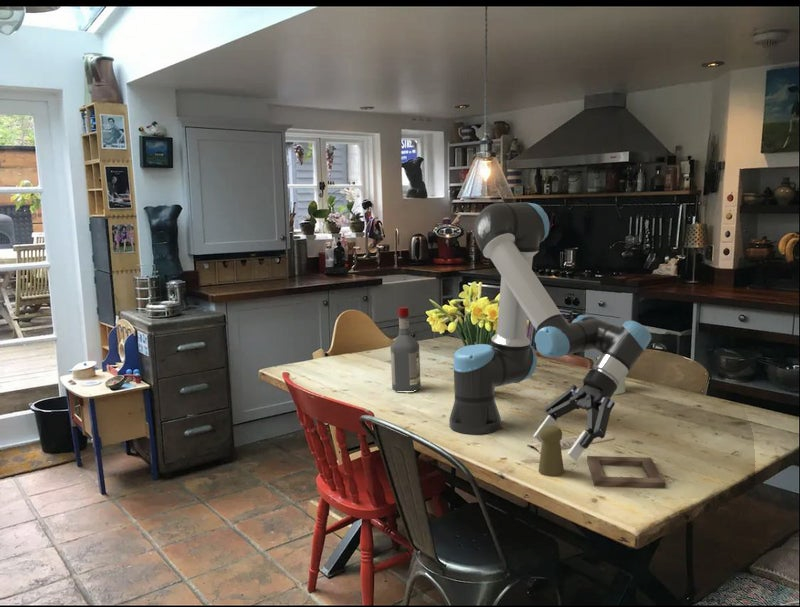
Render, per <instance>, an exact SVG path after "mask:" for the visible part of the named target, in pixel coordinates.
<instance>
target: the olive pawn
mask: <svg viewBox="0 0 800 607" xmlns="http://www.w3.org/2000/svg"><path fill="white" fill-rule="evenodd" d="M540 438H541V439H542V447H541V454H540V457H539V464H538V473H539V474H541V475H542V476H545V477H559V476H562V475H564V474H565V468H564V467H565V466H564V461H563V455H562V454H563V453H562V450H561V446H560V440H561V439H562V438H563V431H562V429H561V428H560V427H558V426H556V425H554V426H550V425H549V426H544V427H542V428H541V430H540Z"/></svg>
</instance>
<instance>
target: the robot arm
mask: <svg viewBox="0 0 800 607" xmlns="http://www.w3.org/2000/svg"><path fill="white" fill-rule="evenodd" d="M549 231H550V221H549V217H548V214H547V213H546V212H545V211H544V209H543V207H541V205H539V204H536V203H531V202H526V201H525V202H507V203H501V202H500V203H499V202H497V203H493V204H490V205H487V206H485V207H484V208H483V209H482V210H481V211H480V212H479V214H478V215H477V217H476V219H475V223H474V232H473V233H474V238H475V242H476V244H477V246H478V248H479V251H480V252H481V253H482V255H483V256H484V258H487V259H490V260H491V263H492V264H493V265H494V267H495V268H496V270H497V271H498V273H499V274H500V288H499V289H500V290H499V301H498V302H499V304H498V312H497V314H498V315H497V326H496V327H497V328H496V333H495V334H494V335H493V336H492V337H491V341H490V344H485V343H478V344H469V345H466V346H463V347H460V348H459V349H457V350H456V351H455V353H454V355H453V363H452V364H453V365H452V368H453V383H454V384H453V385H454V389H453V390H454V402H453V405H452V409H451V411H450V416H449V423H448V424H449V428H450V429H451V430H453V431H455V432H457V433H461V434H462V433H463V434H466V435H468V434H469V435H470V434H471V435H481V434H482V435H483V434H489V433H492V432H493V433H494V432H496V431H498V430H500V429H501V427H502V416H501V414H500V412H499V409H498V406H497V402H496V398H495V395H496V394H495V388H499V387H502V386H506V385H511V384H517V383H521V382H522V381H526V380H528V379H529V378H531V377H532V375H533V374H534V372H535V371H536V369H537V364H538V356H537V353H535V348H536V351H538V353H539V354H540V355H541V356H543V357H544V358H549V359H551V358H560V357H564V356H566V355H571V354H575V353H581V352H586V351H591V350H595V351H598V352H599V353H601V354H600V355H599V356H600V357H599V356H598V357H599V358H598V359H597V360H596V361H595V362H594V364H593V365H592V369H589V371H588V372H587V374H586V375H585V377H584V378H582V379H583V380H582V382H583V385H582V386H581V387H580V388H579V387H578V386H577V385H576V384H572V385H571V386H570V387H569V388H568V389H567V390H566V391H565V392H563V394H561V395H559V396H558V397H557V398H556V399H554V400H553V401H552V402H551V403H549V404H548V405H547V406H545V407H544V411H545V413H546V416H545V418H544V419H543V420H542V422H541V423H540V426H539V427H538V429H537V430H536V431H535V433H534V434H533V435H532V436H533V437H534V438H535V439H536V440H537V441H538V443H539V442H541V443H542V439H541V438H540V430H541V428H542V427H544V426H549V425H550V426H556V424H557V422H558V421H557V420H558V419H559V418H561V417H563V416H565V415H567V414H569V413H570V412H573V411H575V410H579V409H580V410H585V411H587V418H586V419H587V420H586V421H587V423H586V425H587V426H586V428H585V429H584V430H583V431H582V432H581V433H580V434H579V435H580V436H579V438H578V439H577V440H576V442H575V443H574V445H573V446H572V447H571V448H569V450H568V452H567V455H568V456H569V457H570V458H572V459H573V460H574V461H575V462H577V461H578V459H579V458H580V456H581V455H582V454H583V452H584V451H585V450H586V449H588V448H589V446H590V445H591V442H592V441H593V439H594V438H597V437H600V438H604V437H605V433H606V432H607V428H608V424H609V420H610V416H611V412H612V410H613V408H614V406H615V405H616V404H615V403H616V402H614V400H613V399H611V398H612V396H613V395H615V394H614V392H615V391H616V389H617V385H620V383H621V382H622V381H623V379H624V378H625V379H626V376H627V375H628V373H629V372H630V371H631V369H632V368H633V367H634V365H635V364H636V363H637V361H638V360H639V358H640V357H641V356H642V355H643V353H645V351H646V348H647V347H648V345H649V344H650V342H651V341H652V334H651V333H650V331H649V330H648V329H647V328H646V327H645V326H644V325H642V324H641V323H639V322H637V321H635V320H626V321H625V322H624V323H623V324H622V325H621V326H618V325H614V324H611V323H609V322H607V321H603V320H601V319H598V318H597V317H595V316H593V315H592V316H590V315H586V314H579V315H578V316H577V317H576V318H574V319H572V322H568V321H567V319H566V318H565V317H564V315H563V314H562V313H561V311H560V310H559V308H558V307H557V305H556V303H555V302H554V300H553V299H552V298H551V296H550V294H549V293H548V291H547V290H546V289H545V287H544V286H543V284H542V283H541V280H540V279H539V278H538V276H537V275H536V274H535V272H534V271H533V269H532V268H533V260H534V256H536V254H537V253H539V251H540V250H539V249H540V243H542V242H543V241H545V239H546V238H547V237H548V236H549ZM528 320H529V321H530V323H531V324H532V326H533V328H534V329H535V331H536V333H535V336H534V343H535V347H533V346H532V345H531V340H530V339H529V337H528V335H527V328H528V326H527V325H528Z"/></svg>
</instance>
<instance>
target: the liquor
mask: <svg viewBox="0 0 800 607" xmlns="http://www.w3.org/2000/svg"><path fill="white" fill-rule="evenodd" d="M397 311H398V313H397V314H398V324H399V328H398V329H399V331H398V335H397V336H396V338H395V339H394V340H393V342H392V343H391V345H390V364H391V367H390V368H391V386H392V388H391V389H392V391H393V390H395V391H414V390H417V389H418V388H419V387H420V388H421V386H422V385H421V356H420V343H419V342H418V341H417V340H416V338H414V337H413V335H412V334H411V332H410V322H409V317H410V314H409V307H408V306H401V307H399V306H398V310H397Z"/></svg>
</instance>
